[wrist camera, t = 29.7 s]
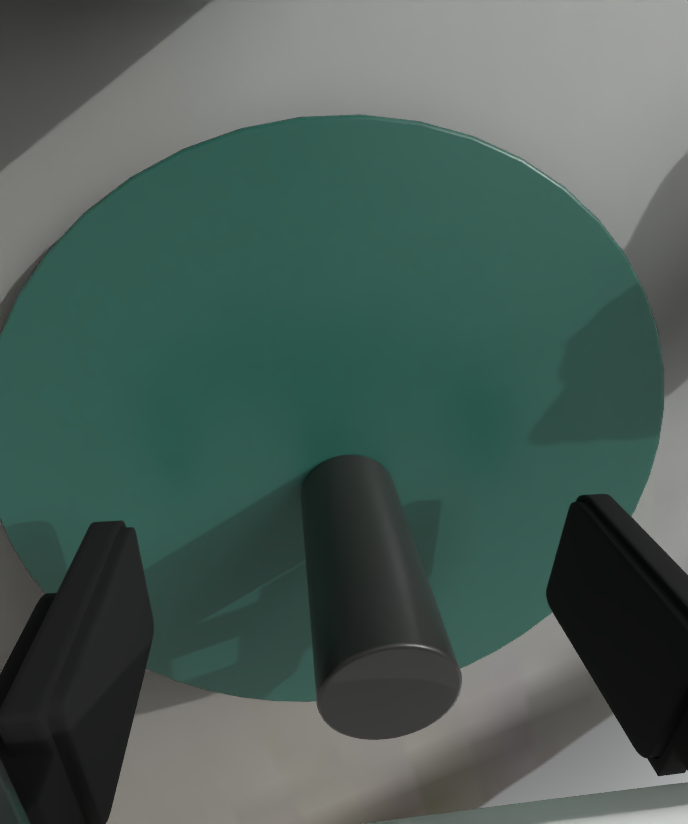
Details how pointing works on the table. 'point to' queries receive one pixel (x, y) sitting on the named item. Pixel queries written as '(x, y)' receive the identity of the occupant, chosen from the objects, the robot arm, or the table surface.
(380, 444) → the lid
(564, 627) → the robot arm
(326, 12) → the table surface
